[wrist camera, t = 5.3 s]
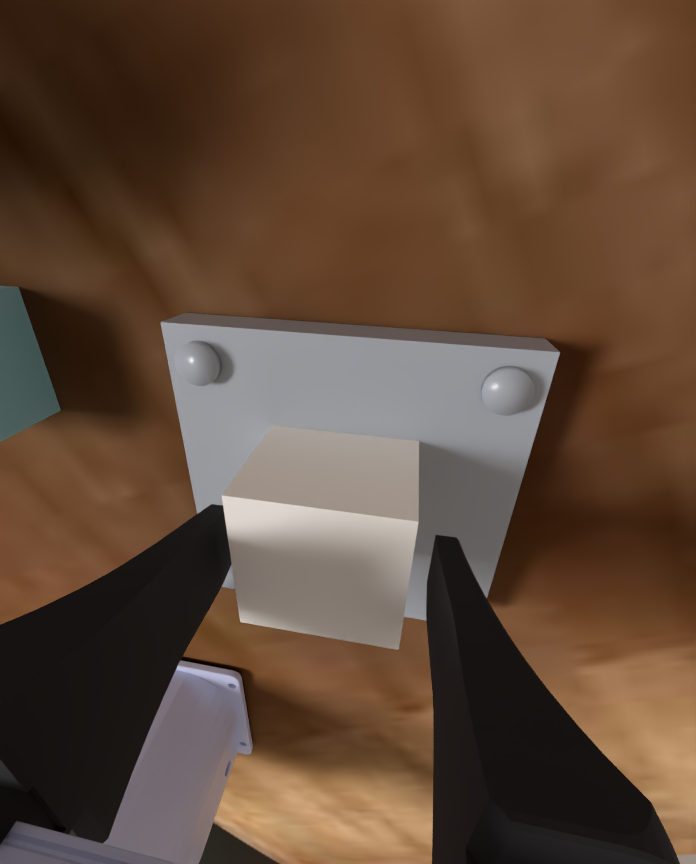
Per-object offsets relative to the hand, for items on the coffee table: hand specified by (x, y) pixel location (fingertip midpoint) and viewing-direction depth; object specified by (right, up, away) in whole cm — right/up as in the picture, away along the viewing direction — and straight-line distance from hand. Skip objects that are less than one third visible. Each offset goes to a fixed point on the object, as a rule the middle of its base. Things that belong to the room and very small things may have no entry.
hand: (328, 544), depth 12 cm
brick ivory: (0, +1, +2) cm, 2 cm away
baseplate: (+1, +2, +3) cm, 4 cm away
